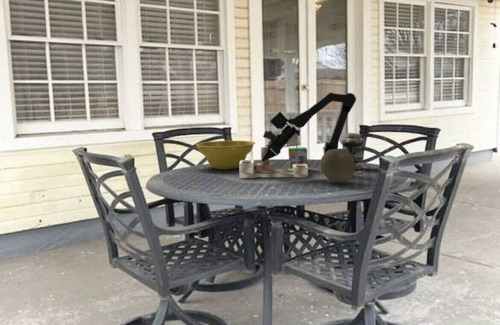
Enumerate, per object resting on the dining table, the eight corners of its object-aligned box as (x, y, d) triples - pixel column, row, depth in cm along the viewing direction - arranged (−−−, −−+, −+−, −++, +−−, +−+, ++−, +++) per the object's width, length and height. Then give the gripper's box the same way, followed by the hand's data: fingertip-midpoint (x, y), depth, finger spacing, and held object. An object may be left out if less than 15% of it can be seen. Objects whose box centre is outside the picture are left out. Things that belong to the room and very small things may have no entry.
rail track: (306, 173, 250) (306, 157, 249) (308, 176, 238) (307, 160, 237) (241, 174, 252) (240, 159, 251) (239, 178, 240) (239, 162, 239)
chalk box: (307, 171, 256) (307, 141, 254) (289, 171, 256) (289, 142, 255) (306, 168, 265) (305, 140, 263) (288, 169, 266) (288, 140, 264)
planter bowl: (244, 172, 258) (243, 146, 257) (186, 171, 269) (185, 145, 267) (263, 164, 289) (262, 140, 287) (211, 163, 299) (210, 140, 297)
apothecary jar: (364, 170, 254) (364, 134, 252) (339, 170, 256) (339, 134, 254) (362, 166, 266) (362, 132, 264) (339, 167, 268) (339, 132, 266)
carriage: (273, 167, 249) (272, 146, 247) (273, 169, 241) (273, 148, 239) (257, 168, 249) (256, 146, 248) (256, 170, 241) (255, 148, 240)
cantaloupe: (343, 179, 227) (343, 146, 225) (361, 184, 214) (361, 148, 212) (315, 182, 222) (314, 148, 220) (331, 187, 209) (331, 151, 207)
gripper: (272, 123, 251) (250, 146, 253) (272, 125, 233) (249, 150, 235) (289, 139, 252) (267, 161, 254) (290, 142, 233) (266, 166, 235)
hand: (262, 159), depth 244 cm, fingers open, 9 cm apart
